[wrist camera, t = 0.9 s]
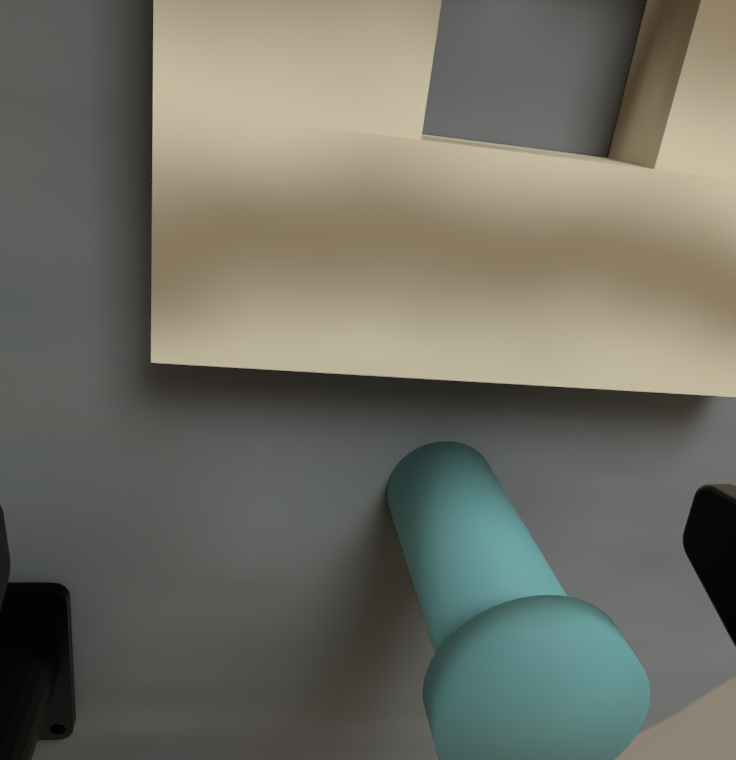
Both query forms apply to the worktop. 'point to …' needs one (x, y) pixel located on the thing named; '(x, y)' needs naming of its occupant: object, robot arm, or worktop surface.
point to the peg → (506, 625)
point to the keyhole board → (435, 207)
